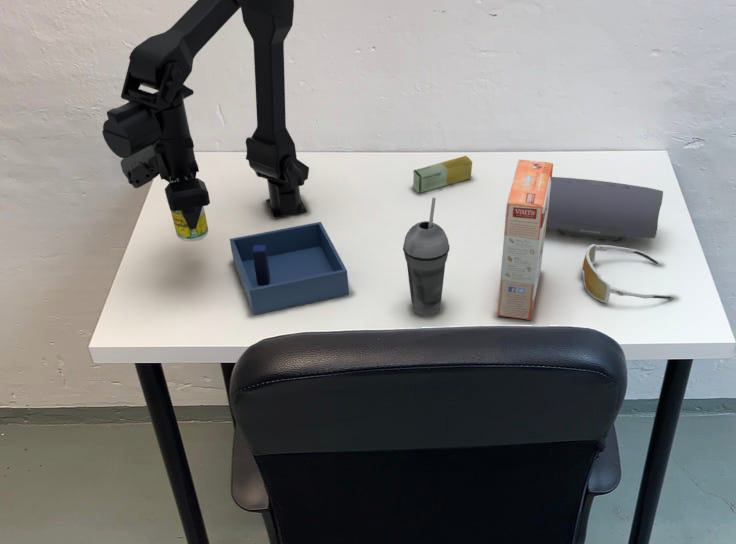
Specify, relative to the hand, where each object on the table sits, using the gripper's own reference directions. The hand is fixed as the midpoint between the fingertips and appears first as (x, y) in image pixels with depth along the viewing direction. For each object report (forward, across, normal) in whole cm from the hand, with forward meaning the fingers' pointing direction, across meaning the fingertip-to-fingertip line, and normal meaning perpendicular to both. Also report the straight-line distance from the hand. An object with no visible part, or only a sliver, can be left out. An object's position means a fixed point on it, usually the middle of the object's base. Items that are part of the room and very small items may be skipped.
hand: (189, 220), depth 149 cm
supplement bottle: (+3, 0, 0) cm, 3 cm away
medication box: (+10, -12, +50) cm, 52 cm away
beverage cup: (+9, +25, +33) cm, 42 cm away
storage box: (+9, +9, +14) cm, 19 cm away
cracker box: (+9, +27, +49) cm, 57 cm away
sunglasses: (+10, +30, +67) cm, 74 cm away
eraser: (+9, +9, +9) cm, 16 cm away
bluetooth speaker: (+10, +14, +69) cm, 71 cm away
